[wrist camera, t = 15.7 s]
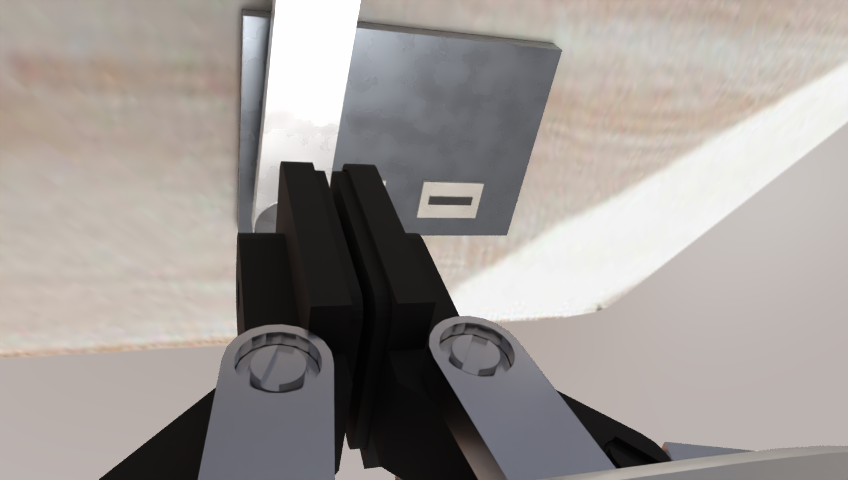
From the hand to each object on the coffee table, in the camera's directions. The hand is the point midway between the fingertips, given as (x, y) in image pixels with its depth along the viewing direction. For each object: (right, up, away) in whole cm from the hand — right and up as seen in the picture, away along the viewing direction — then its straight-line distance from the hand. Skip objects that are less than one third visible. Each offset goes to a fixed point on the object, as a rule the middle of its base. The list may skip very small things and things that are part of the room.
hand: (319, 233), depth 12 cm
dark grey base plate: (0, +8, +35) cm, 36 cm away
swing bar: (-6, +9, +28) cm, 30 cm away
